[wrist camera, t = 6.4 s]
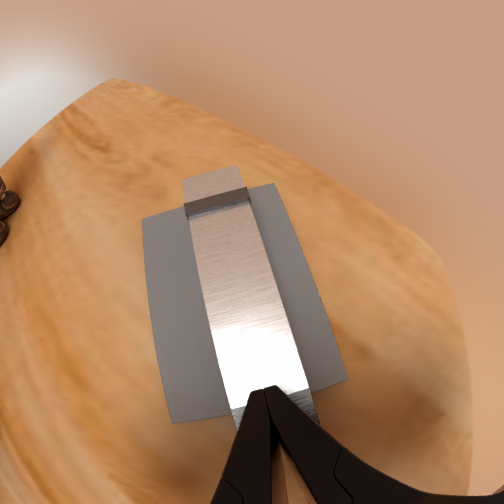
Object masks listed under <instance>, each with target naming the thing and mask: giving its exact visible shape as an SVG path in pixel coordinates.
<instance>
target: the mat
mask: <svg viewBox="0 0 504 504" xmlns="http://www.w3.org/2000/svg"><path fill="white" fill-rule="evenodd" d="M248 192H249V195H250V199H251V208H252V212H253V215H254V218H255V221H256V224H257V227H258V230H259V233H260V236H261V239H262V242H263V245H264V248H265V251H266V254H267V257H268V260H269V263H270V266H271V269H272V273H273V276H274V279H275V282H276V285H277V288H278V291H279V294H280V297H281V301H282V304H283V307H284V310H285V313H286V316H287V319H288V323H289V326H290V329H291V332H292V335H293V339H294V342H295V345H296V348H297V351H298V355H299V358H300V361H301V364H302V367H303V371H304V374H305V377H306V380H307V384H308V387H309V389H310V393H312V392H315V391H318V390H321V389H323V388H326V387H329V386H332V385H334V384H337V383H340V382H342V381H345V380H347V379H348V377H347V374H346V371H345V368H344V365H343V361H342V358H341V355H340V352H339V349H338V346H337V344H336V341H335V338H334V335H333V332H332V329H331V326H330V323H329V321H328V318H327V315H326V312H325V309H324V307H323V304H322V301H321V298H320V296H319V293H318V290H317V288H316V285H315V282H314V280H313V277H312V274H311V272H310V269H309V266H308V264H307V261H306V259H305V256H304V254H303V251H302V249H301V246H300V244H299V241H298V239H297V236H296V234H295V231H294V229H293V226H292V224H291V221H290V219H289V217H288V214H287V212H286V209H285V207H284V205H283V202H282V200H281V198H280V195H279V193H278V191H277V188H276V186H275V184H274V183H272V184H267V185H263V186H259V187H255V188H251V189H248ZM142 227H143V245H144V260H145V272H146V282H147V291H148V300H149V308H150V315H151V323H152V329H153V336H154V342H155V348H156V353H157V359H158V364H159V369H160V374H161V379H162V384H163V388H164V393H165V397H166V401H167V405H168V409H169V413H170V417H171V421H172V424H174V423H182V422H190V421H197V420H203V419H209V418H215V417H220V416H225V415H230V414H232V411H231V406H230V403H229V399H228V396H227V392H226V388H225V384H224V381H223V377H222V373H221V369H220V365H219V361H218V357H217V353H216V349H215V345H214V341H213V337H212V333H211V328H210V324H209V320H208V315H207V311H206V306H205V302H204V297H203V292H202V287H201V282H200V278H199V273H198V267H197V262H196V257H195V252H194V246H193V241H192V235H191V229H190V223H189V221H188V219H187V217H186V215H185V209H184V206H183V207H180V208H177V209H173V210H170V211H167V212H163V213H160V214H157V215H154V216H150V217H147V218H144V219H142Z"/></svg>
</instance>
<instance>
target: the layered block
mask: <svg viewBox="0 0 504 504" xmlns="http://www.w3.org/2000/svg"><path fill="white" fill-rule="evenodd" d="M182 182H183V189H184V196H185V202H186V203H184V209H185V215H186V217H187V219H188V221H189V223H190V229H191V235H192V241H193V246H194V252H195V257H196V262H197V267H198V273H199V278H200V282H201V287H202V292H203V297H204V302H205V306H206V311H207V315H208V320H209V324H210V328H211V333H212V337H213V341H214V345H215V349H216V353H217V357H218V361H219V365H220V369H221V373H222V377H223V381H224V384H225V388H226V392H227V396H228V399H229V403H230V406H231V411H232V415H233V418H234V421H235V425H236V428H237V430H238V427H239V424H240V421H241V418H242V415H243V412H244V409H245V406H246V403H247V400H248V397H249V394H250V392H251V391H253V390H257V389H261V388H262V389H263V390H264V388H265V387H268V386H272V385H277V386H278V387H279V388H280V389H281V390H282V391H283V392H284V393H285V394H286V395H287V396H289V397H290V398H291V399H292V400H293V401H294V402H295V403H296V404H297V405H298V406H299V407H300V408H301V409H302V410H303V411H304V412H306V413H307V414H308V415H309V416H310V417H311V418H312V419H313V420H314V421H315V422H317V423H318V424H319V425H320V423H319V419H318V416H317V413H316V409H315V406H314V403H313V399H312V396H311V393H310V389H309V387H308V384H307V380H306V377H305V374H304V371H303V367H302V364H301V361H300V358H299V355H298V351H297V348H296V345H295V342H294V339H293V335H292V332H291V329H290V326H289V323H288V319H287V316H286V313H285V310H284V307H283V304H282V301H281V297H280V294H279V291H278V288H277V285H276V282H275V279H274V276H273V273H272V269H271V266H270V263H269V260H268V257H267V254H266V251H265V248H264V245H263V242H262V239H261V236H260V233H259V230H258V227H257V224H256V221H255V218H254V215H253V212H252V208H251V199H250V195H249V192H248V189H247V187H245V186H244V183H243V180H242V178H241V175H240V172H239V169H238V166H237V165H235V166H231V167H227V168H223V169H219V170H215V171H211V172H207V173H204V174H200V175H196V176H193V177H189V178H186V179H182Z"/></svg>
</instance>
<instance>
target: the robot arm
mask: <svg viewBox="0 0 504 504" xmlns="http://www.w3.org/2000/svg"><path fill="white" fill-rule="evenodd" d="M280 445H281V446H280ZM281 447H282V450H283V452H284V454H285V456H286V458H287V460H288V462H289V465H290V467H291V469H292V471H293V473H294V475H295V477H296V479H297V481H298V483H299V485H300V487H301V489H302V491H303V493H304V495H305V497H306V499H307V501H308V503H309V504H504V485H503V486H502V487H501V488H499V489H498V490H497V491H496V492H494V493H493V494H492V495H487V496H458V495H442V494H432V493H427V492H423V491H420V490H417V489H414V488H412V487H410V486H408V485H406V484H403V483H401V482H399V481H397V480H395V479H393V478H392V477H390V476H388V475H386V474H384V473H382V472H380V471H378V470H377V469H375V468H373V467H372V466H370V465H368V464H367V463H365V462H364V461H362V460H361V459H360V458H358V457H357V456H356V455H354V454H353V453H352V452H350V451H349V450H348V449H347V448H346V447H344V446H343V445H342V444H341V443H339V442H338V441H337V440H336V439H335V438H334V437H332V436H331V435H330V434H329V433H328V432H327V431H326V430H324V429H323V428H322V427H321V426H320V425H319V424H318V423H317V422H315V421H314V420H313V419H312V418H311V417H310V416H309V415H308V414H307V413H306V412H304V411H303V410H302V409H301V408H300V407H299V406H298V405H297V404H296V403H295V402H294V401H293V400H292V399H291V398H290V397H289V396H287V395H286V394H285V393H284V392H283V391H282V390H281V389H280V388H279V387H278V386H277V385H272V386H268V387H265V388H264V390H263V389H262V388H261V389H257V390H253V391H251V392H250V394H249V397H248V400H247V403H246V406H245V409H244V412H243V415H242V418H241V421H240V424H239V427H238V430H237V433H236V436H235V439H234V442H233V445H232V448H231V451H230V453H229V456H228V459H227V462H226V465H225V468H224V470H223V473H222V478H220V481H219V484H218V486H217V489H216V491H215V494H214V496H213V498H212V501H211V503H210V504H289V503H288V496H287V488H286V481H285V474H284V467H283V459H282V452H281Z"/></svg>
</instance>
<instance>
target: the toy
mask: <svg viewBox="0 0 504 504" xmlns="http://www.w3.org/2000/svg"><path fill="white" fill-rule="evenodd" d="M5 189H6V186H5V184H4V182H3V180H2V178H1V177H0V220H1V219H2V218H4V217H6V216H8V215H9V214H11V213H12V212H13V211H14V210H15V209H16V207H17V206H18V203H19V197H18V196H17V194H16V193H15V192H13V191H5ZM4 191H5V192H4ZM7 231H8V227H7V226H6V225H5V224H4V223H3V222H1V221H0V244H1V243H2V242H3V240H4V239H5V236H6V234H7Z"/></svg>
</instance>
